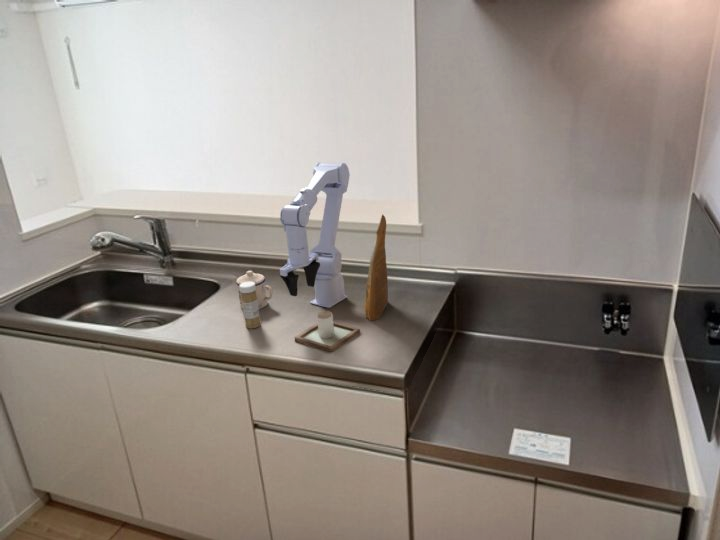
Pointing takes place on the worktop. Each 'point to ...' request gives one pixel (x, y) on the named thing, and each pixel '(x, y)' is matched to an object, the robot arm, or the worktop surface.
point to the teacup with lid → (260, 288)
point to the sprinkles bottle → (250, 304)
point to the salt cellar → (325, 324)
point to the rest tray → (330, 344)
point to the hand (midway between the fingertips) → (302, 290)
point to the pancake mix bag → (377, 276)
